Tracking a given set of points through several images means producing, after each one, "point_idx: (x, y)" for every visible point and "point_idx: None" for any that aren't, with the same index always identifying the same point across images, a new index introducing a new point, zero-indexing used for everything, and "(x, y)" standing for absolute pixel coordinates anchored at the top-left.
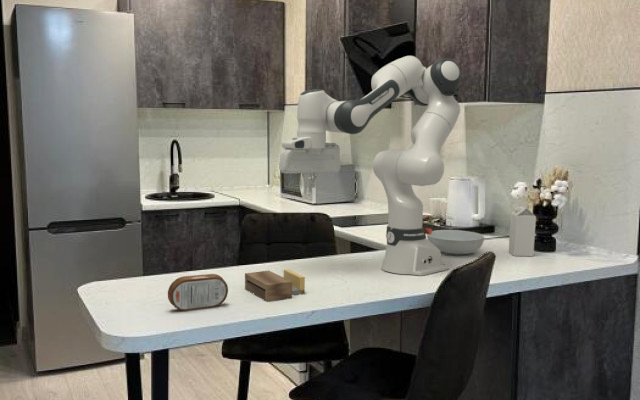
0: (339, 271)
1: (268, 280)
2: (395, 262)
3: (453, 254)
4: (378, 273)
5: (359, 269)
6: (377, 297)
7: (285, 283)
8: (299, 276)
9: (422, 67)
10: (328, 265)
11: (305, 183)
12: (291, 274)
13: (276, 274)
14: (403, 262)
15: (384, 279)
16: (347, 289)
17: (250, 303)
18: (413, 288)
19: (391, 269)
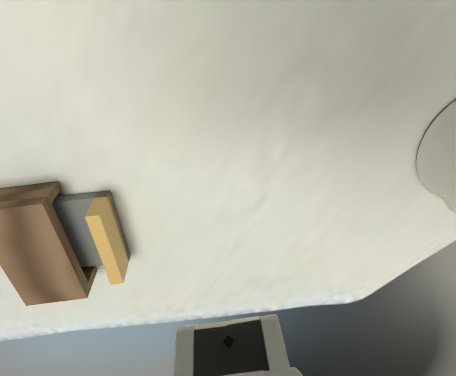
0: (306, 103)
1: (32, 280)
2: (441, 186)
3: None
4: (387, 158)
5: (375, 100)
6: (257, 300)
7: (71, 298)
8: (112, 276)
9: None
10: (321, 8)
11: (175, 369)
12: (99, 250)
13: (59, 242)
14: (452, 201)
15: (356, 209)
16: (232, 251)
17: (6, 278)
18: (357, 275)
19: (423, 171)
